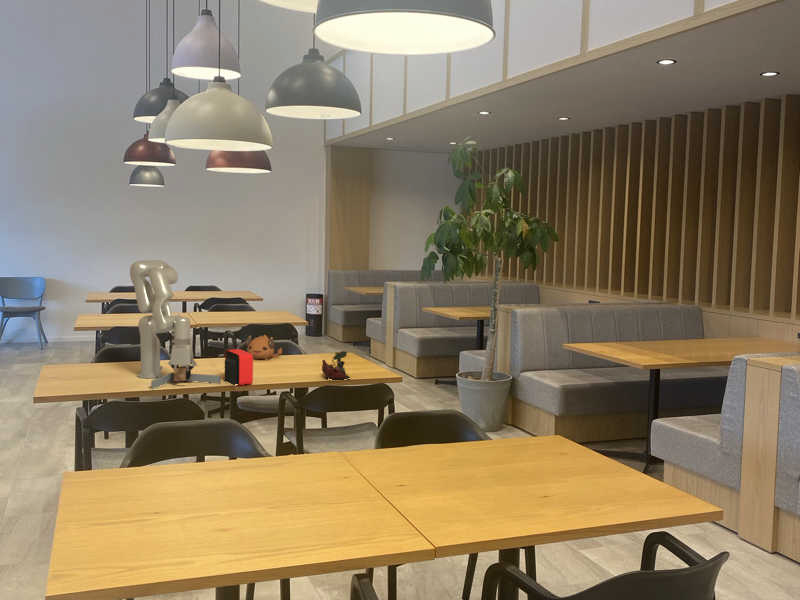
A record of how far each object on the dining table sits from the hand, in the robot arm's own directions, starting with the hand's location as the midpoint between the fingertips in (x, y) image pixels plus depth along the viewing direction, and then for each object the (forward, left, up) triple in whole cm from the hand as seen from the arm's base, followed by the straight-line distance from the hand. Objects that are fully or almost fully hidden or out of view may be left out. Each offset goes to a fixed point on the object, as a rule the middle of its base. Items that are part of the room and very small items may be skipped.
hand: (182, 378), depth 379 cm
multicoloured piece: (-36, +69, -3) cm, 78 cm away
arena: (+2, +4, -3) cm, 5 cm away
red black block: (-12, +24, -3) cm, 27 cm away
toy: (-80, +13, -3) cm, 81 cm away
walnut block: (0, 0, -1) cm, 1 cm away
